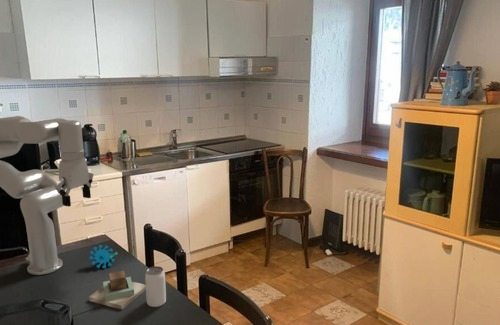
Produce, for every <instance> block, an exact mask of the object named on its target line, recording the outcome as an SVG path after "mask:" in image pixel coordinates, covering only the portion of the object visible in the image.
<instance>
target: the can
mask: <svg viewBox="0 0 500 325" xmlns="http://www.w3.org/2000/svg"><path fill="white" fill-rule="evenodd" d="M144 277H145V278H144V280H145V285H146V290H145V295H146V298H145V299H146V304H147V306H149V307H152V308H159V307H162V306H164V305H165V303H166V301H167V290H166V289H167V288H166V273H165V271H164V268H163V267H162V266H157V265H156V266H151V267H148V268H147V269H146V271H145V276H144Z"/></svg>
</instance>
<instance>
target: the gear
mask: <svg viewBox="0 0 500 325" xmlns="http://www.w3.org/2000/svg"><path fill="white" fill-rule="evenodd" d="M98 248H99V249H98ZM108 248H109V246H108V245H105V246H104V247H103V245H102V244H99V246H98V247H97V246H94V247H93V250H91V251H90V252H89V255H90V256H89V258H88V260H89V261H92V262H91V266H95V265H96V264H97V265H96V266H95V268H96V269H100V267H102V269H104V270H106V268H107V267H112V265H113V264H112V263H114V262H115V261H116V259H115V258H116V256H117V255H118V254H119V253H118V252H116V251H115V252H114V253H113V251H114V250H113V249H112V248H109V249H108ZM97 249H98V250H97ZM94 252H95V253H94ZM110 261H111V262H110ZM106 264H107V265H106ZM101 265H102V266H101Z"/></svg>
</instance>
